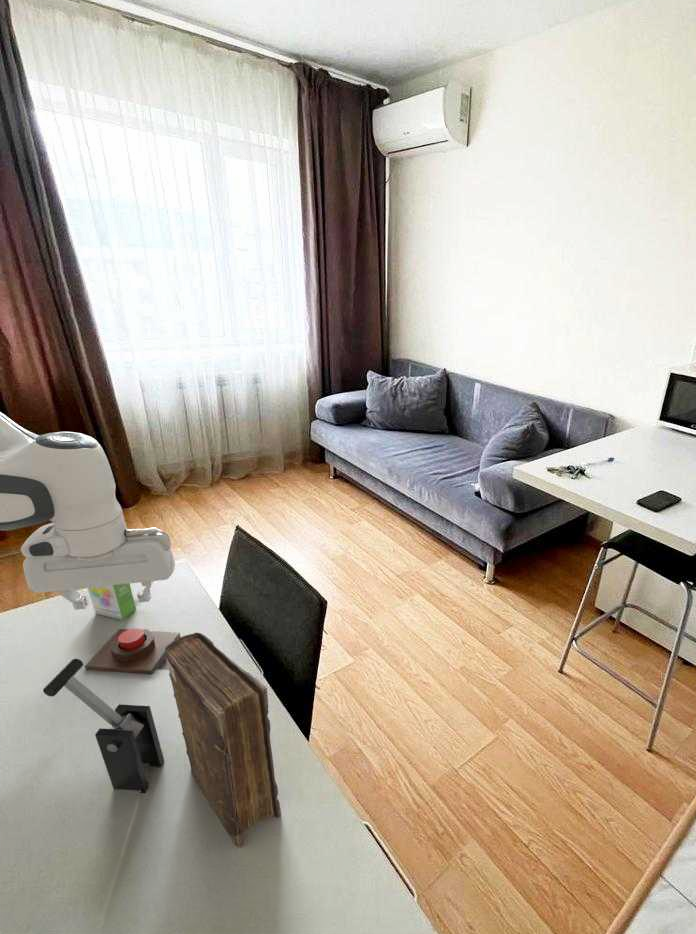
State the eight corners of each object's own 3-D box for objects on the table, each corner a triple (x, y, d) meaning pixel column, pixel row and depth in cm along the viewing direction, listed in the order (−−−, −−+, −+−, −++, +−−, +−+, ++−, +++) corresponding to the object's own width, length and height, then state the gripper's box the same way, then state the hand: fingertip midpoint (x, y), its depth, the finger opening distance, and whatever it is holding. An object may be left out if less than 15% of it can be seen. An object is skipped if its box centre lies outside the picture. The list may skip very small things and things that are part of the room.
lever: (38, 691, 62) (50, 684, 61) (67, 662, 66) (79, 655, 66) (115, 754, 66) (128, 748, 66) (138, 722, 71) (150, 717, 70)
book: (188, 769, 74) (157, 641, 64) (234, 742, 79) (213, 618, 69) (234, 858, 64) (207, 723, 54) (285, 821, 69) (269, 689, 58)
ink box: (94, 614, 104) (78, 561, 98) (110, 603, 107) (95, 551, 102) (121, 621, 103) (107, 567, 97) (137, 609, 106) (124, 557, 101)
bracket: (79, 809, 68) (54, 746, 63) (120, 751, 77) (101, 690, 71) (165, 815, 68) (147, 752, 63) (197, 756, 77) (184, 696, 71)
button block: (87, 675, 89) (81, 658, 88) (121, 637, 99) (117, 621, 97) (153, 679, 89) (148, 662, 88) (181, 641, 99) (178, 625, 97)
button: (115, 649, 91) (113, 642, 90) (128, 634, 94) (126, 627, 94) (137, 651, 91) (135, 643, 90) (149, 636, 94) (147, 628, 94)
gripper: (171, 518, 83) (185, 585, 89) (27, 528, 78) (52, 599, 84) (162, 536, 78) (177, 607, 83) (6, 549, 72) (35, 623, 78)
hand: (114, 603), depth 83 cm, fingers open, 8 cm apart
